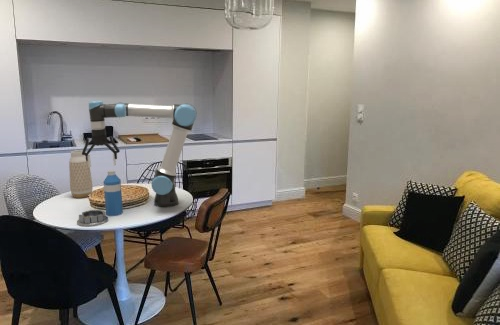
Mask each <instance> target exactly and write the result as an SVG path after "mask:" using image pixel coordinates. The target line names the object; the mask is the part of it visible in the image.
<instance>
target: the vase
mask: <svg viewBox="0 0 500 325" xmlns="http://www.w3.org/2000/svg"><path fill="white" fill-rule="evenodd" d="M82 152H83V149H76V150H72V151H70V158H69V161H68V164H69V167H68V168H69V170H68V171H69V187H70V188H69V189H70V192H71V195H72V197H74V198H76V199H86V198H88V197H89V196H88V195H89V194H90V193H91V192H92V193H93V187H94V186H93V180H92V179H93V178H92V172H91V167H89V165H88V161H86V156H85V155H82ZM85 153H87V151H86V152H85ZM92 193H91V194H92Z"/></svg>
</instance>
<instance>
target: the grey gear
mask: <svg viewBox="0 0 500 325" xmlns="http://www.w3.org/2000/svg"><path fill="white" fill-rule="evenodd" d="M108 221H109V216H108V215H106V210H103V209H91V210H86V211H83V212H81V214H78V219H77V220H76V225H77V226H79V227H86V228H87V227H98V226H101V225H104V224H106V223H107V222H108Z"/></svg>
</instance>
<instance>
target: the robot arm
mask: <svg viewBox="0 0 500 325" xmlns="http://www.w3.org/2000/svg"><path fill="white" fill-rule="evenodd" d="M88 113H89V119H90V123H89V124H90V129H91V138H90V137H87V138H85V139H86V140H85V145H84V146H83V149H82V150H83V152H82V155H85V156H86V161H88V165H89V167H90V168H91V167H92V164H91V161H92V160H91V155H90V153H91V151H92V150H93V149H94V148H95V146H96V147H97V146H98V147H99V146H105V147H107V149H109V150H110V151H111V152H112V161H113V166H116V162H117V161H116V160H118V154H119V153H120V151H121V150H120V149H119V148H118V146H117V144H116V143H115V141H114V139H113V136H108V137H107V130H106V121H105V119H109V118H113V119H114V118H119V119H120V118H125V117H138V118H140V117H141V118H154V119H155V118H156V119H171V120H172V121H171V122H172V123H171V125H172V130H171V134H170V137H169V140H168V143H167V146H166V149H165V153H164V155H163V159H162V161H161V165H160V166H158V167H156V168H155V169H154V173H155V174H154V177H153V179H152V180H151V189H152V190H153V192H154V193H155V197H154V200H153V205H154V206H156V207H160V208H168V207H169V208H170V207H175V206H177V205H179V204H180V201H179V200H180V199H179V197H178V194H177V192H176V177H177V172H176V169H177V166H178V163H179V160H180V157H181V154H182V151H183V148H184V145H185V143H186V140H187V137H188V133H190V132H191V131H192V129H193V126H194V124H195V121H196V118H197V109H196V108H195V106H193V105H192V104H190V103H179V104H175V103H174V104H172V105H164V104H163V105H160V104H147V103H143V104H142V103H126V102H125V103H124V102H116V103H111V104H110V103H109V104H105V103H103V101H102V100H93V101H89V102H88ZM91 141H92V142H93V143H92V145H91V146H90V147H89V144H90V142H91ZM108 141H109V142H110V143H111V145H112V146H113V147H112V146H111V145H110V144H109V143H108ZM88 147H89V149H88ZM87 149H88V150H87ZM85 152H86V153H85Z"/></svg>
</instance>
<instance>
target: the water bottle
mask: <svg viewBox="0 0 500 325" xmlns="http://www.w3.org/2000/svg"><path fill="white" fill-rule="evenodd" d="M103 191H104V192H103V193H104V194H103V195H104V206H105V213H106V216H107V217H113V216H114V217H115V216H116V217H117V216H120V215H122V214H123V212H124V210H123V196H122V193H123V192H122V182H121V178H119V176H118V175H117V174H116V170H107V175H106V177H105V179H104V180H103Z"/></svg>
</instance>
